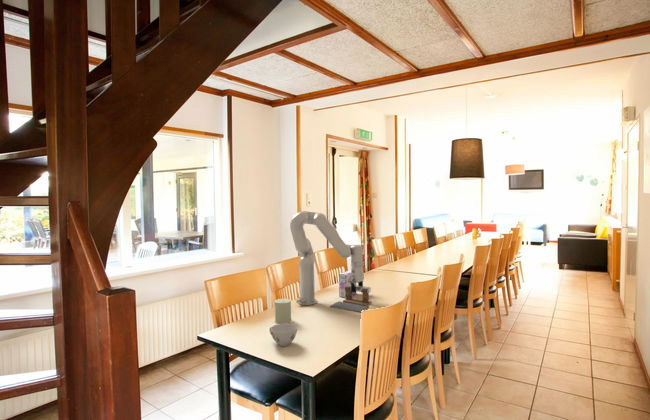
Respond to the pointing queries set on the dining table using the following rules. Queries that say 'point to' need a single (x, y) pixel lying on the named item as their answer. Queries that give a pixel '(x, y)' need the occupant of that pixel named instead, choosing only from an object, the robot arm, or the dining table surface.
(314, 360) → the dining table surface
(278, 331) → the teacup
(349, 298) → the cradle rack
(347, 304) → the rubber mat
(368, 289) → the steel rail
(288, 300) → the can
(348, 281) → the candy box
